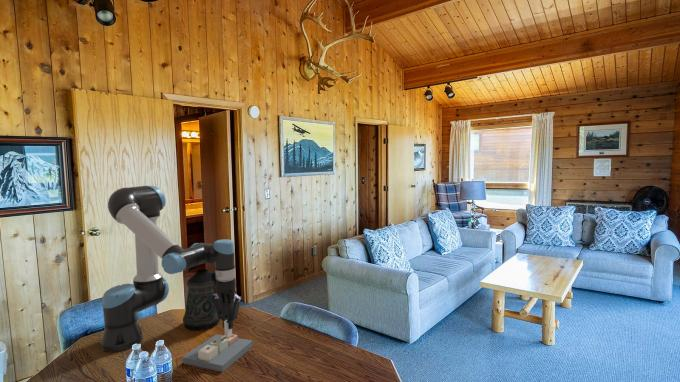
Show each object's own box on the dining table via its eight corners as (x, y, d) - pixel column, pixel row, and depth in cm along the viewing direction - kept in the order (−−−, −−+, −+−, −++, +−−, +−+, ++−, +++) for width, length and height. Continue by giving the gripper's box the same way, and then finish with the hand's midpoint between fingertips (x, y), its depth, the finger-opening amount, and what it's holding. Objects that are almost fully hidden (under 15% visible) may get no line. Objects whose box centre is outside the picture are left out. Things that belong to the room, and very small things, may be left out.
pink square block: (219, 347, 147) (219, 338, 147) (227, 341, 152) (227, 332, 151) (230, 349, 145) (229, 340, 145) (237, 343, 150) (237, 334, 150)
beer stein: (177, 323, 171) (174, 271, 169) (217, 311, 184) (215, 262, 182) (191, 335, 159) (188, 279, 157) (233, 321, 172) (230, 269, 170)
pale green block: (209, 351, 141) (208, 342, 141) (217, 345, 146) (217, 336, 146) (220, 354, 140) (219, 344, 139) (228, 347, 144) (228, 338, 144)
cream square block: (198, 360, 136) (197, 350, 135) (207, 353, 140) (207, 344, 140) (209, 362, 134) (208, 352, 134) (218, 355, 139) (217, 346, 138)
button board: (182, 363, 137) (182, 357, 137) (216, 339, 155) (216, 334, 155) (222, 372, 131) (222, 365, 131) (252, 346, 149) (252, 340, 148)
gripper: (205, 280, 145) (209, 337, 147) (233, 283, 140) (236, 342, 142) (218, 274, 152) (221, 329, 154) (245, 277, 147) (247, 334, 149)
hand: (228, 335), depth 148 cm, fingers closed
